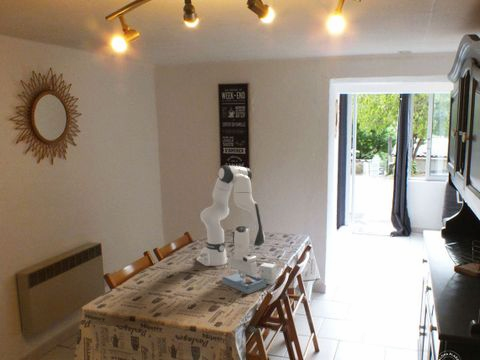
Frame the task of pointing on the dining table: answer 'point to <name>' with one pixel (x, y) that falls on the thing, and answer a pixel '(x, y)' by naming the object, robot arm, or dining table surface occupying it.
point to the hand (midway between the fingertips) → (242, 278)
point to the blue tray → (244, 283)
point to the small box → (268, 273)
